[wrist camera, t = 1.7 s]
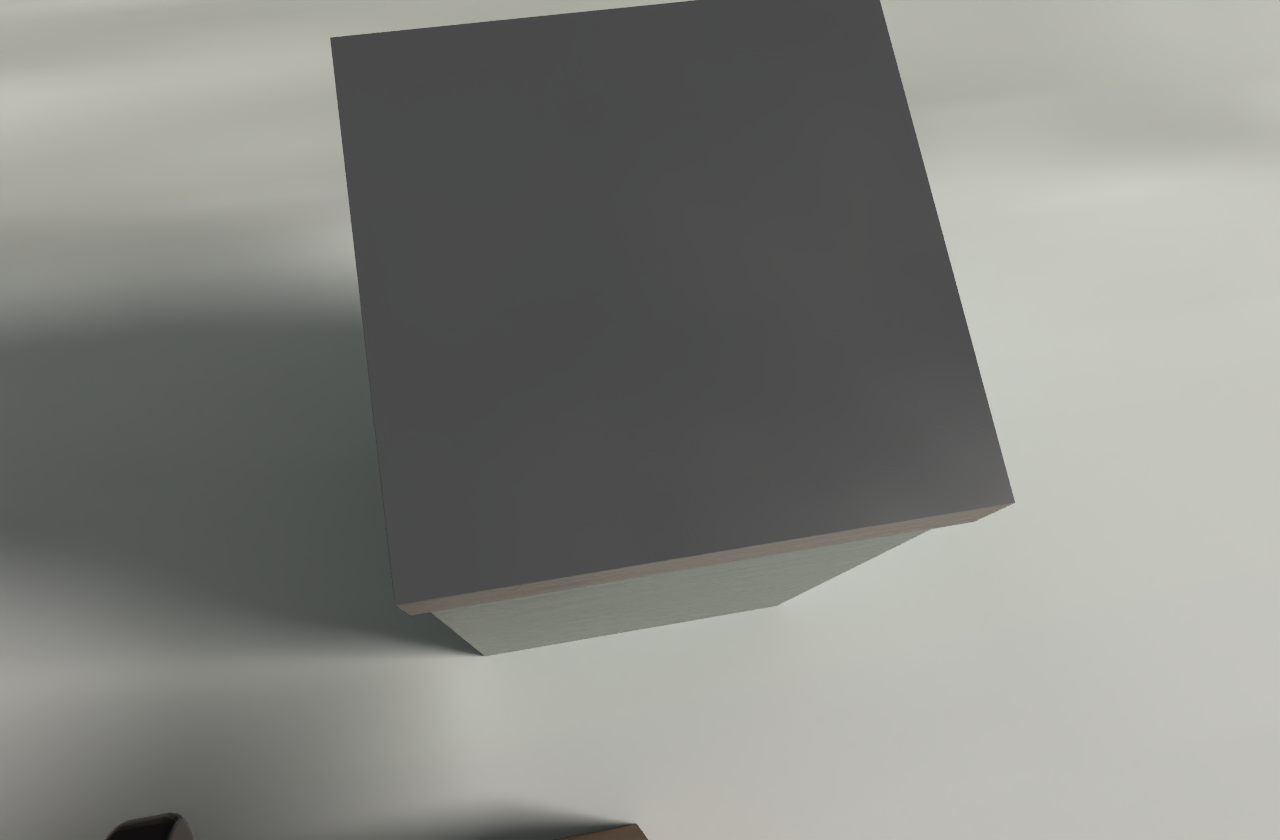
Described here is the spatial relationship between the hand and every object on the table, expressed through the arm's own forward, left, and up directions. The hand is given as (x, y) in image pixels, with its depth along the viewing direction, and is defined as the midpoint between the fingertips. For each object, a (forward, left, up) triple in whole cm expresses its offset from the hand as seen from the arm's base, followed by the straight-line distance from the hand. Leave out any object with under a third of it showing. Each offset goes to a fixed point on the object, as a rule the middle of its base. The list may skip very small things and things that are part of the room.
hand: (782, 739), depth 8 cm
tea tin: (+4, -2, -11) cm, 12 cm away
